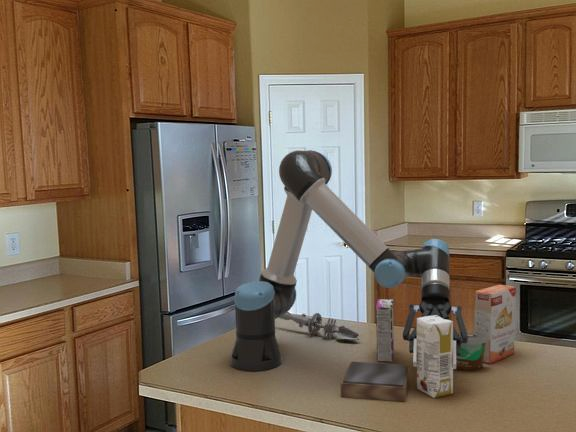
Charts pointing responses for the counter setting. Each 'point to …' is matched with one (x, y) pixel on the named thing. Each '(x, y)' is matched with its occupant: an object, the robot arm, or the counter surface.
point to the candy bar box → (385, 330)
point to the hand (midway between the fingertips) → (434, 365)
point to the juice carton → (435, 356)
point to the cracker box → (496, 320)
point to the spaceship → (321, 326)
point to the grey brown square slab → (375, 381)
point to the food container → (471, 353)
